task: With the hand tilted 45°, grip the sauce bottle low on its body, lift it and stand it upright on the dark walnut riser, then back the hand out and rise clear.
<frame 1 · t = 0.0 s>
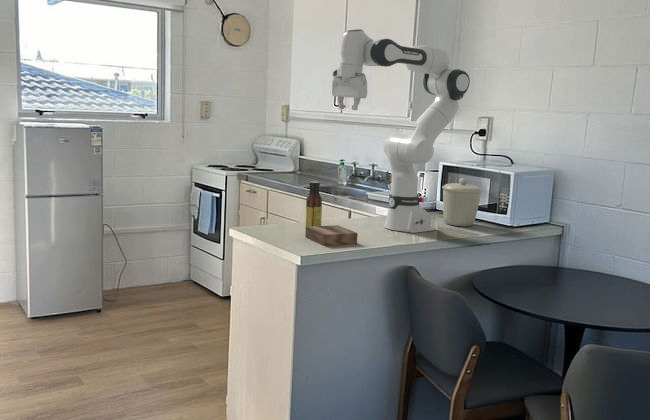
hand: (347, 109, 246), 48 cm above the table, tool pointing down, fingers open, 8 cm apart
walnut riser: (330, 240, 238), on the table
canister: (458, 224, 289), on the table
sauce bottle: (312, 232, 250), on the table
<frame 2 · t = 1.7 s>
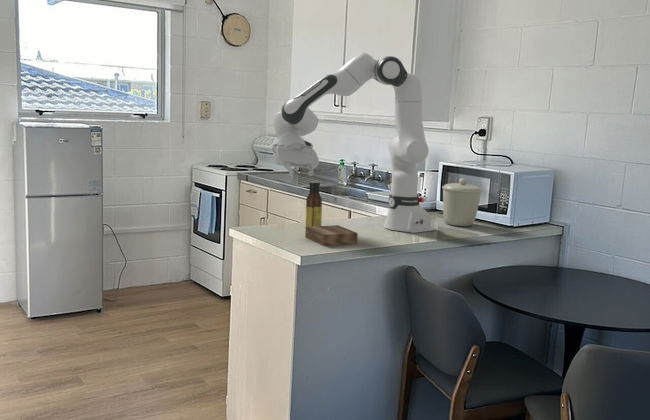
hand: (302, 174, 255), 21 cm above the table, tool tilted 45°, fingers open, 8 cm apart
nothing on the table moved.
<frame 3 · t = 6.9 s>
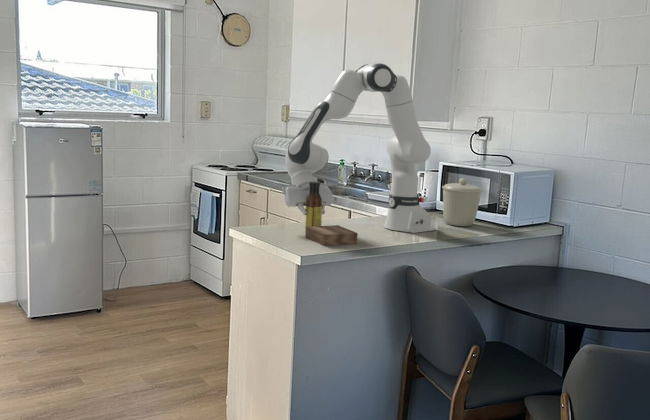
hand: (314, 213, 248), 7 cm above the table, tool tilted 45°, fingers closed on sauce bottle, 6 cm apart
sauce bottle: (312, 232, 250), on the table, touching gripper
everything else where it was.
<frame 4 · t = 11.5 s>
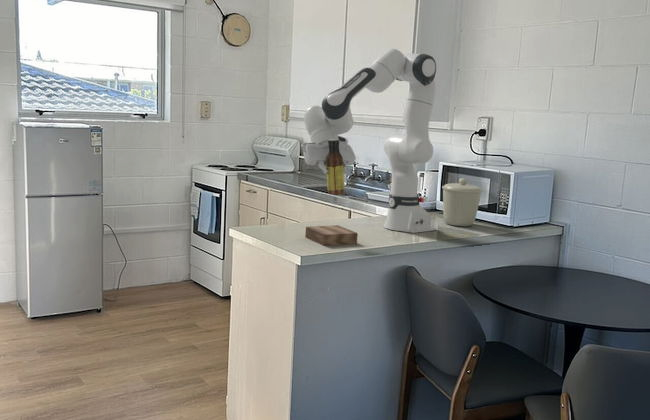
hand: (336, 172, 234), 25 cm above the table, tool tilted 45°, fingers closed on sauce bottle, 6 cm apart
sauce bottle: (335, 194, 236), point 17 cm above the table, touching gripper
everything else where it was.
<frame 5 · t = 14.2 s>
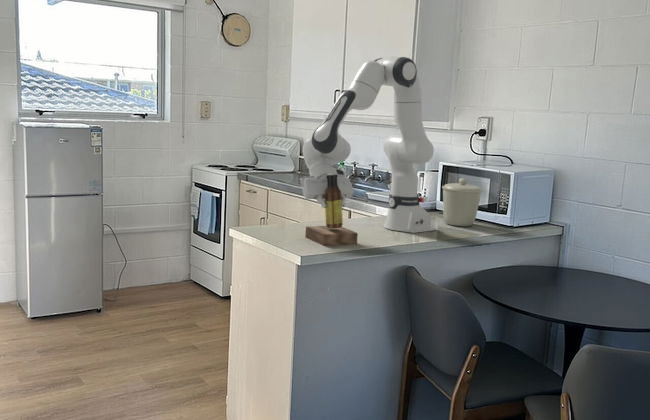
hand: (334, 206, 235), 13 cm above the table, tool tilted 45°, fingers closed on sauce bottle, 6 cm apart
sauce bottle: (333, 227, 238), point 5 cm above the table, touching gripper
everything else where it was.
when the fingers open (13 cm above the table, at t = 14.9 s): sauce bottle drops 1 cm, resting on walnut riser.
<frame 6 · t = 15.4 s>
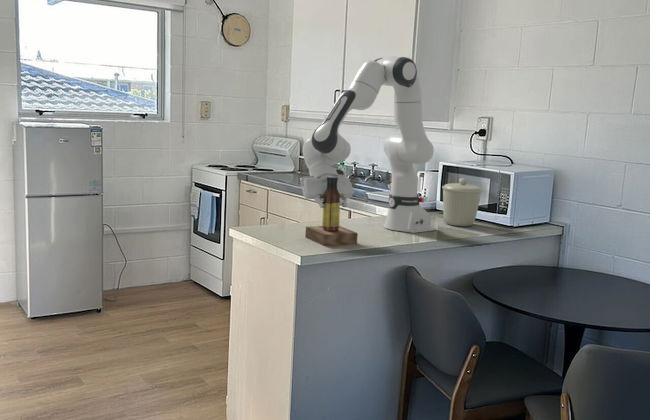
hand: (334, 206, 235), 13 cm above the table, tool tilted 45°, fingers open, 8 cm apart
sauce bottle: (329, 230, 237), point 4 cm above the table, touching walnut riser
everything else where it was.
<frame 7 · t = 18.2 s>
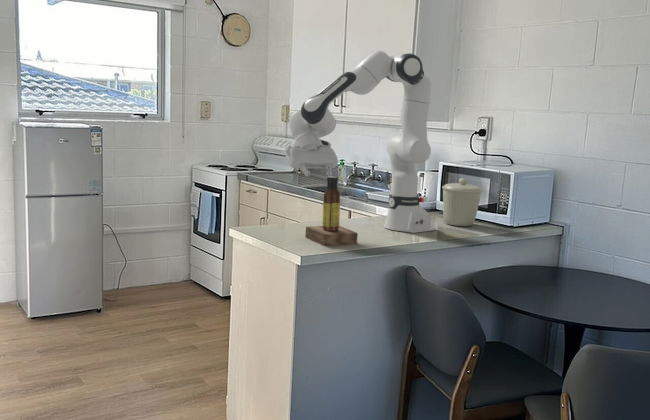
hand: (319, 175, 244), 23 cm above the table, tool tilted 45°, fingers open, 8 cm apart
nothing on the table moved.
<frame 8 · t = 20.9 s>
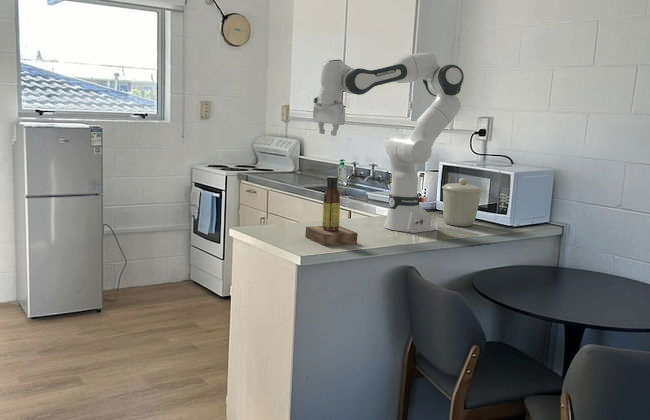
hand: (327, 134, 261), 37 cm above the table, tool pointing down, fingers open, 8 cm apart
nothing on the table moved.
at the end: sauce bottle inside the target area (0.7 cm from its centre), point 3.8 cm above the table; sauce bottle tilted 0°; the gripper is holding nothing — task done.
